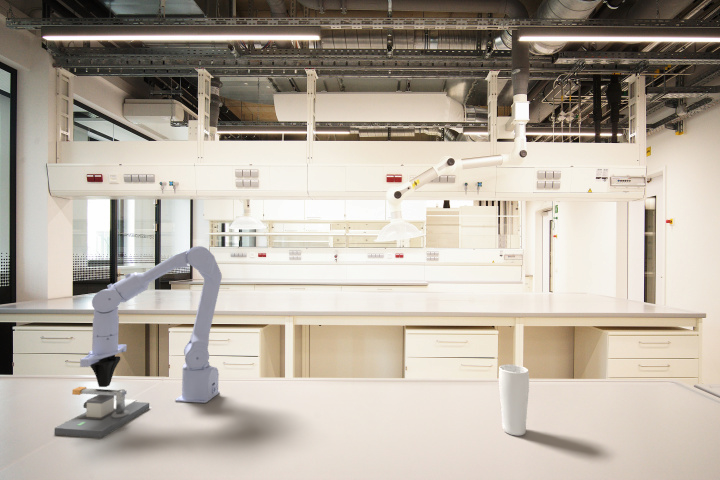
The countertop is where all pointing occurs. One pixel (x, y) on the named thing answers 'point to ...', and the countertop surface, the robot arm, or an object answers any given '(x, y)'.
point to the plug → (99, 406)
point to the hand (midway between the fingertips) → (104, 386)
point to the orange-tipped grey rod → (118, 393)
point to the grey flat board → (101, 421)
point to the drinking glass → (514, 398)
